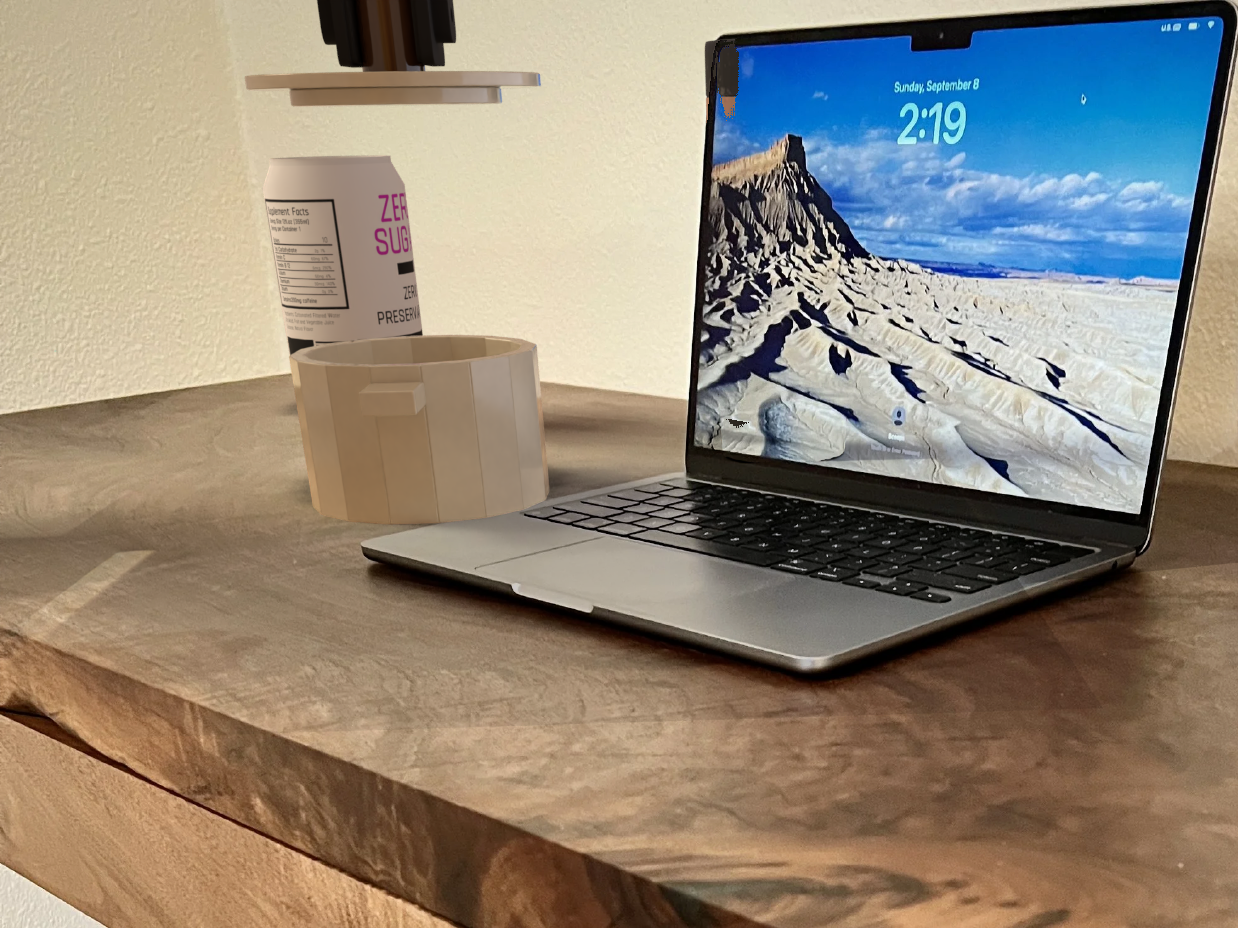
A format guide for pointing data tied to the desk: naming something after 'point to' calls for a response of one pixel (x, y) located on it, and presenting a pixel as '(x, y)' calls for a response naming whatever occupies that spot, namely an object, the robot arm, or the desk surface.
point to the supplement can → (341, 249)
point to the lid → (391, 70)
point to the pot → (421, 427)
